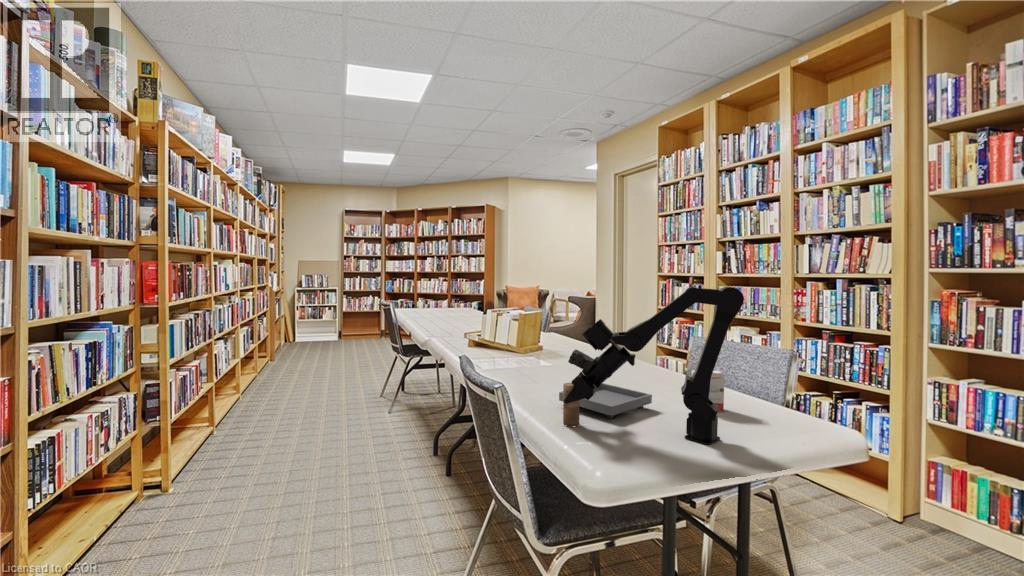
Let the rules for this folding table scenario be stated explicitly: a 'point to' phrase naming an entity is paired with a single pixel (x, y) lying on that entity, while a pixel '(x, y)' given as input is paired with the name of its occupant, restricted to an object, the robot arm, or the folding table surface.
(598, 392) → the parts tray
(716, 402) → the ink box
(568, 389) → the walnut part
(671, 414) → the folding table surface
